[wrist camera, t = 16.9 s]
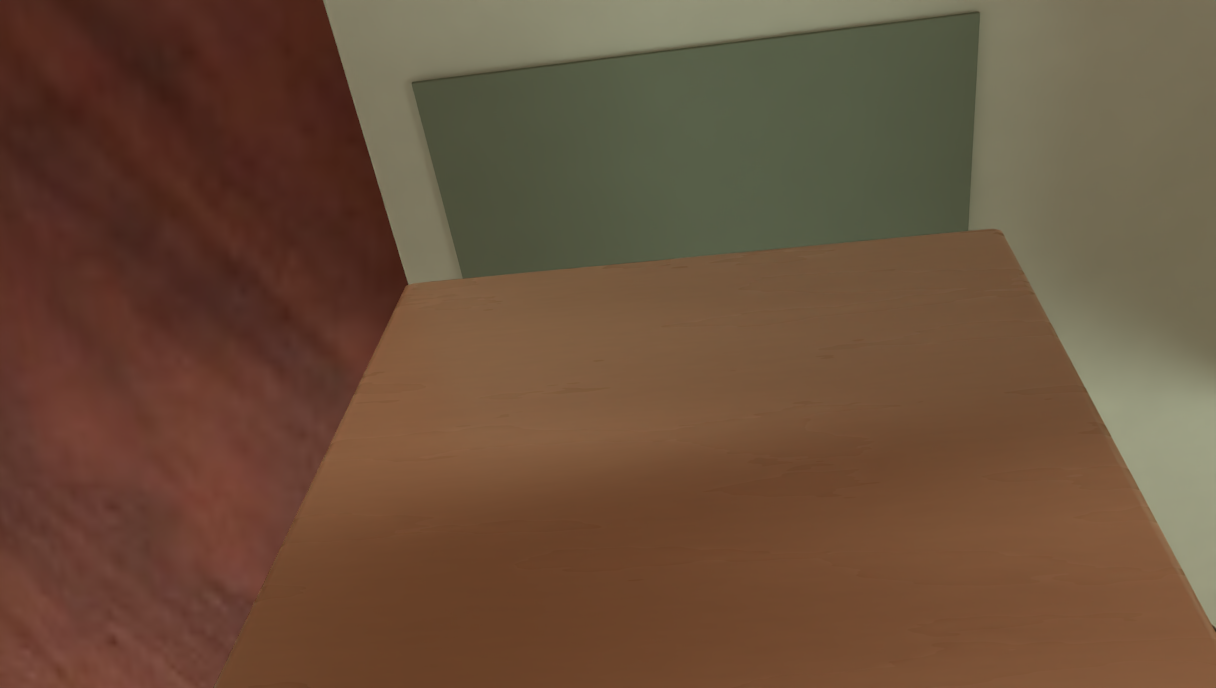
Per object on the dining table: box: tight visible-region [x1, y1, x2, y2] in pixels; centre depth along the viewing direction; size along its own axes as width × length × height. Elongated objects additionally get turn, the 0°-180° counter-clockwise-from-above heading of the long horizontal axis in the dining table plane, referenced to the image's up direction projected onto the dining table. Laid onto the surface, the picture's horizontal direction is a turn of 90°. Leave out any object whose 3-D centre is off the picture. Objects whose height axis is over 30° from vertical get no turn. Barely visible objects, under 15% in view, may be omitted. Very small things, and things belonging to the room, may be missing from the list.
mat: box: [323, 0, 1216, 627], centre depth 11 cm, size 16×14×1 cm
